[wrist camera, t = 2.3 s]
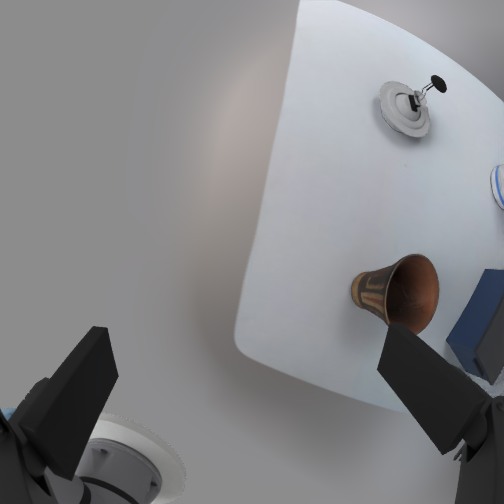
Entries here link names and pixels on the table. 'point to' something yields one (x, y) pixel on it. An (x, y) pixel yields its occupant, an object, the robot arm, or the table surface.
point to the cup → (400, 292)
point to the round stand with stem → (407, 107)
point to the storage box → (482, 329)
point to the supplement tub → (498, 184)
